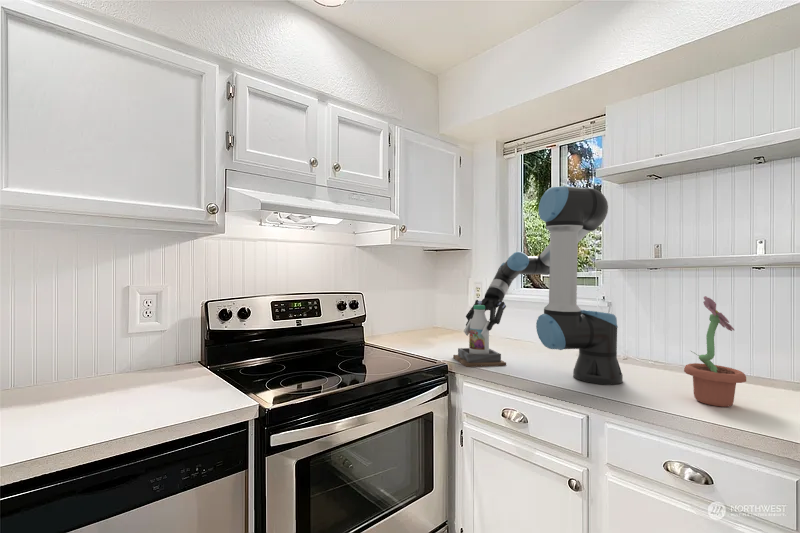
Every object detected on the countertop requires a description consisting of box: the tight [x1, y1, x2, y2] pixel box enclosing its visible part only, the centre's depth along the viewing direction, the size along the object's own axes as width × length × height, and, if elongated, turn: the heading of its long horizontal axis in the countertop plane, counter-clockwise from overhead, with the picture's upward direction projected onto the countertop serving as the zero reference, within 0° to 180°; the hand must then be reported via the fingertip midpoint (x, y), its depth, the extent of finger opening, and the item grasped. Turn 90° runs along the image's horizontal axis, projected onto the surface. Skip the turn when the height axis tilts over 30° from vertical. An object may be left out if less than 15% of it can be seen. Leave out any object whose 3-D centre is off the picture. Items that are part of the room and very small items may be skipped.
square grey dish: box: [453, 347, 507, 368], centre depth 162 cm, size 16×16×4 cm
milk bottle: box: [468, 304, 490, 354], centre depth 162 cm, size 8×8×20 cm
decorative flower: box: [683, 296, 747, 408], centre depth 113 cm, size 15×14×30 cm
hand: (474, 334), depth 159 cm, fingers closed on milk bottle, 7 cm apart
